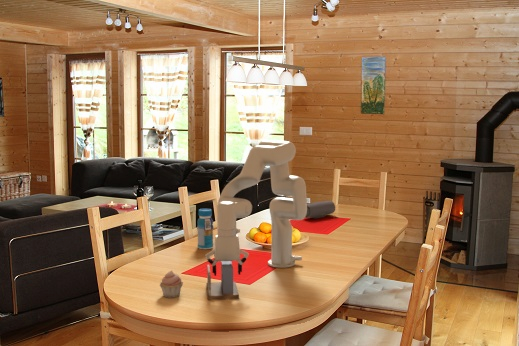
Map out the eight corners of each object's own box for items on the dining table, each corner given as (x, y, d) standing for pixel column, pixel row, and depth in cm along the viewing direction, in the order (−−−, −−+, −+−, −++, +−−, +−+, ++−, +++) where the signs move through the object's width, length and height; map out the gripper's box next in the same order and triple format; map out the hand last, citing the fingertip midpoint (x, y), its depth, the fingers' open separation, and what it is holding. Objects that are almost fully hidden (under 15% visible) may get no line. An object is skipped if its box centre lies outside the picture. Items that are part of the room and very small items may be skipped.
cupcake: (188, 295, 229) (188, 270, 228) (170, 301, 222) (169, 276, 221) (173, 289, 236) (172, 265, 234) (154, 295, 229) (154, 271, 227)
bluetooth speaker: (325, 213, 385) (325, 199, 384) (335, 216, 378) (336, 201, 377) (300, 218, 370) (301, 203, 369) (311, 220, 363) (311, 205, 362)
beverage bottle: (194, 249, 297) (194, 210, 294) (200, 244, 305) (200, 207, 302) (210, 250, 295) (210, 211, 292) (215, 246, 303) (215, 208, 300)
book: (230, 283, 239) (230, 259, 237) (233, 293, 227) (233, 268, 226) (221, 283, 238) (221, 260, 237) (223, 293, 227) (223, 268, 225)
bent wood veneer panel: (235, 285, 241) (235, 263, 240) (238, 298, 225) (238, 274, 224) (206, 286, 240) (206, 264, 238) (207, 299, 224) (207, 276, 223)
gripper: (247, 229, 234) (247, 270, 237) (204, 231, 232) (205, 272, 235) (249, 234, 227) (249, 276, 229) (205, 235, 225) (205, 278, 227)
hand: (227, 274), depth 232 cm, fingers open, 9 cm apart
